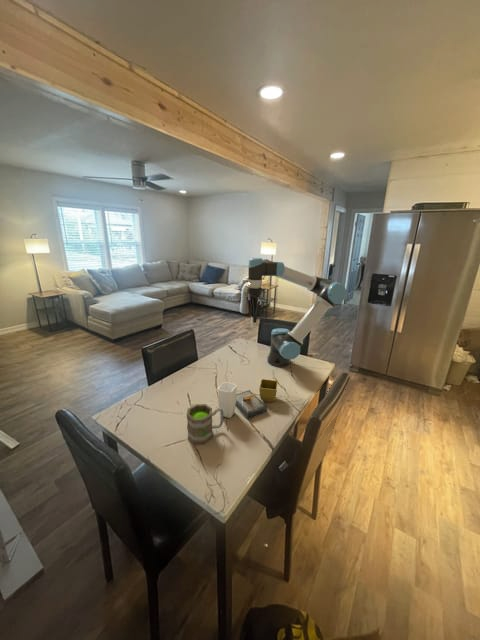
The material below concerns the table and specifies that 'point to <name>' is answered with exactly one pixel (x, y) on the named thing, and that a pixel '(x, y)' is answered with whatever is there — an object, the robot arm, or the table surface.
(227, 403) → the cup
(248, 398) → the paddle
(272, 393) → the flower pot
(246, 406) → the panel
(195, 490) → the table surface
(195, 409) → the mug
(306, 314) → the robot arm
